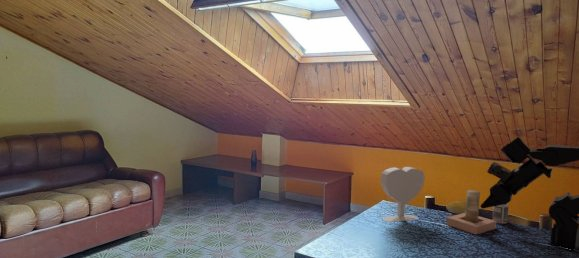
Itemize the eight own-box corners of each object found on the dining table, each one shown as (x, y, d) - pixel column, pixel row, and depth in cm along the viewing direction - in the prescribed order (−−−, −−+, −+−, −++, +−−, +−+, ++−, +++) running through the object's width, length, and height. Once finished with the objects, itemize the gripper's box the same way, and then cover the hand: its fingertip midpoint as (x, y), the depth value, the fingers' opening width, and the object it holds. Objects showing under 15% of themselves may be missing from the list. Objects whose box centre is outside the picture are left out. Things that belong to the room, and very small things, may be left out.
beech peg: (480, 228, 139) (482, 192, 137) (469, 229, 138) (472, 193, 136) (471, 224, 142) (474, 189, 141) (461, 225, 141) (464, 190, 140)
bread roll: (441, 210, 159) (442, 199, 159) (459, 207, 163) (459, 197, 162) (458, 216, 152) (459, 205, 151) (476, 213, 155) (477, 203, 155)
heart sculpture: (415, 214, 152) (417, 165, 150) (423, 218, 147) (426, 168, 145) (377, 217, 147) (379, 167, 145) (385, 222, 142) (387, 170, 140)
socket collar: (495, 228, 138) (496, 221, 138) (476, 234, 132) (477, 226, 132) (465, 219, 148) (466, 212, 147) (446, 224, 141) (446, 217, 141)
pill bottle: (503, 219, 148) (505, 196, 147) (509, 224, 144) (511, 200, 143) (490, 219, 149) (491, 196, 148) (495, 223, 144) (497, 199, 143)
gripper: (509, 151, 140) (473, 180, 147) (499, 158, 125) (459, 189, 132) (535, 177, 136) (496, 205, 143) (528, 188, 121) (485, 218, 128)
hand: (484, 204), depth 137 cm, fingers open, 9 cm apart
